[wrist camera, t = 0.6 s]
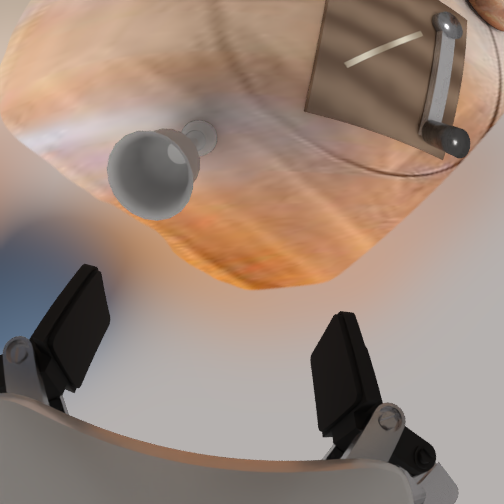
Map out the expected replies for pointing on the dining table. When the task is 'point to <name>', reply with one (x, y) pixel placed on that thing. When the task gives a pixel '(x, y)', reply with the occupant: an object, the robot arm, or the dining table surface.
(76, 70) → the dining table surface
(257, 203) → the dining table surface
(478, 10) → the ceramic jug
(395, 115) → the lever board
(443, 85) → the lever
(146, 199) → the chalice
